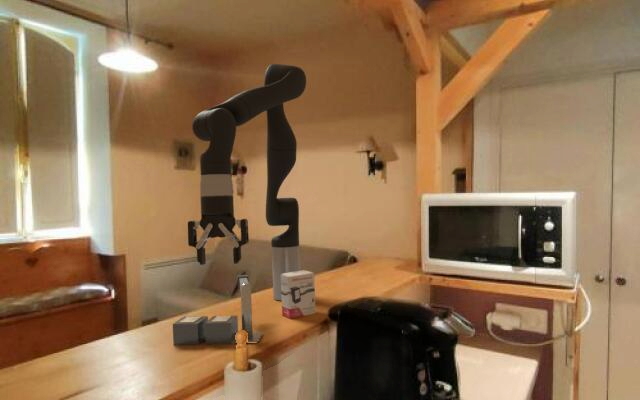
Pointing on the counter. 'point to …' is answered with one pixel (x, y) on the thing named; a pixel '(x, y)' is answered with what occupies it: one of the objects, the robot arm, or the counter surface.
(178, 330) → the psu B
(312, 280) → the ink box
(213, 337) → the block
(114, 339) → the counter surface
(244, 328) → the post
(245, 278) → the bar
